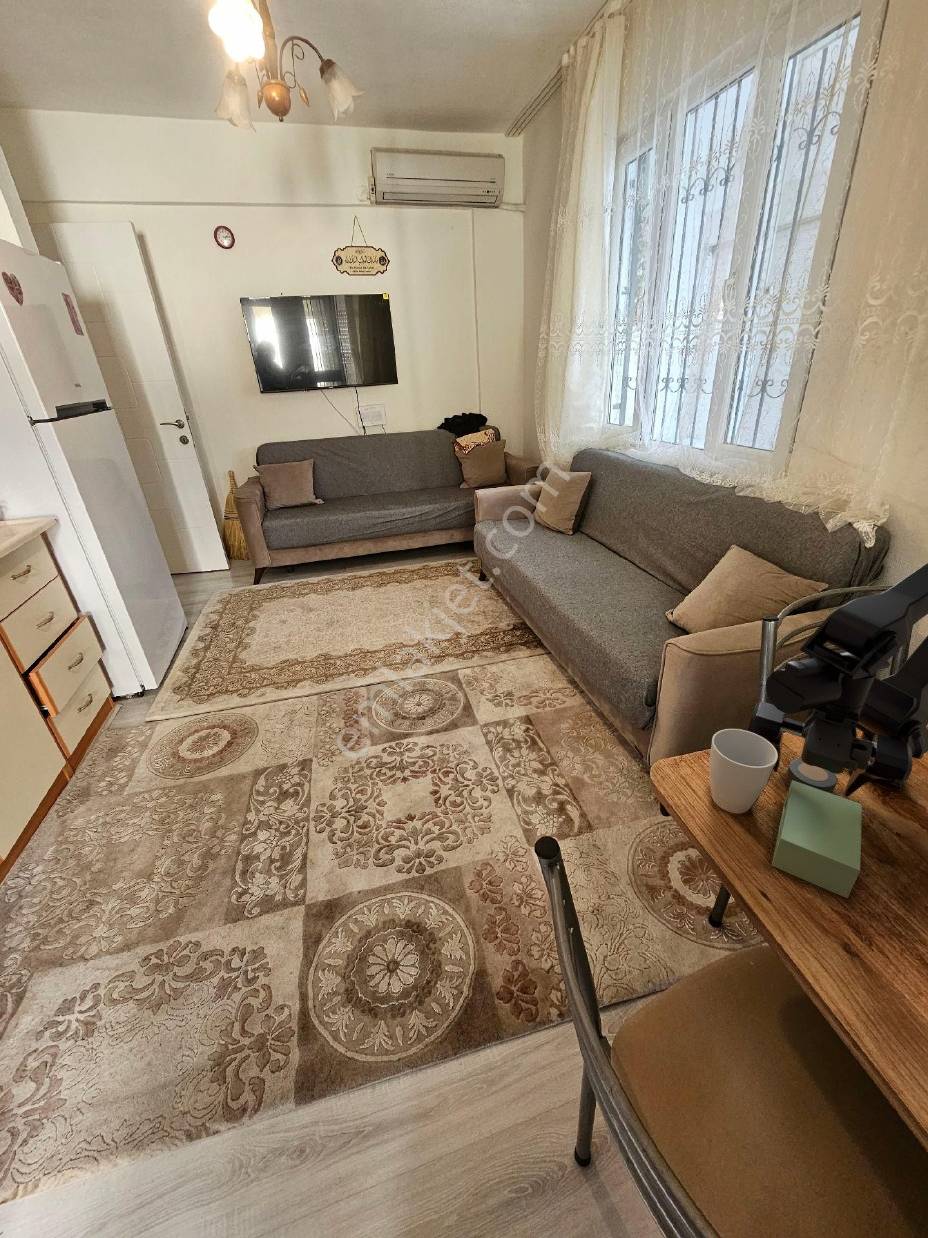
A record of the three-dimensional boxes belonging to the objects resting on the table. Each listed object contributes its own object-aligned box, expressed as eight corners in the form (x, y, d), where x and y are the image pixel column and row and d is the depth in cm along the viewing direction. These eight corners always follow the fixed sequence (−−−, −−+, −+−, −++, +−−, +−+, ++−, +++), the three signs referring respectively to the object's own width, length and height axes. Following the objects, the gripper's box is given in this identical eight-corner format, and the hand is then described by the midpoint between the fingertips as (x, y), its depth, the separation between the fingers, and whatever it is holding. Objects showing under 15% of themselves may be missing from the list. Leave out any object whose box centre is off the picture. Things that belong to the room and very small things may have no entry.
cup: (769, 825, 70) (786, 770, 66) (707, 817, 72) (720, 763, 67) (752, 783, 77) (766, 731, 73) (695, 777, 79) (706, 726, 74)
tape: (787, 768, 80) (791, 753, 79) (832, 783, 77) (838, 768, 75) (782, 791, 76) (787, 776, 74) (830, 809, 72) (836, 793, 71)
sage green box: (783, 806, 73) (791, 780, 71) (850, 831, 69) (862, 804, 67) (771, 866, 65) (780, 838, 62) (847, 899, 60) (860, 870, 58)
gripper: (753, 703, 68) (730, 789, 75) (934, 755, 58) (889, 849, 65) (765, 666, 76) (744, 748, 83) (926, 706, 66) (887, 795, 73)
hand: (809, 782), depth 76 cm, fingers open, 9 cm apart
